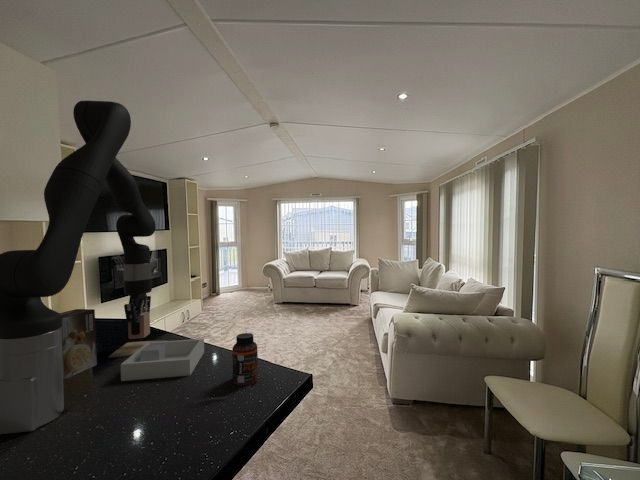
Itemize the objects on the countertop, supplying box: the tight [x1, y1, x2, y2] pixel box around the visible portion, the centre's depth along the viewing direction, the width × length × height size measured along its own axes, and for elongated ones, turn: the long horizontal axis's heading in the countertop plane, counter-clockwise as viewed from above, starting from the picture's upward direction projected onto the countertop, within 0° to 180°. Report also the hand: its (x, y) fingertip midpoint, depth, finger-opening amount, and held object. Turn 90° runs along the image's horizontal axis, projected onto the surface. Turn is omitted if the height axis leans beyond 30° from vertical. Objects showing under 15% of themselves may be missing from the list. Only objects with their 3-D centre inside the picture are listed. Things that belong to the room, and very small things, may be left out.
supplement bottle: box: [231, 332, 259, 386], centre depth 74 cm, size 6×6×11 cm
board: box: [107, 339, 167, 359], centre depth 97 cm, size 12×12×1 cm
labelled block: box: [127, 311, 151, 340], centre depth 97 cm, size 4×4×7 cm
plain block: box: [141, 344, 165, 362], centre depth 83 cm, size 4×4×5 cm
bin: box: [120, 338, 205, 382], centre depth 84 cm, size 16×16×5 cm
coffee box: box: [58, 308, 98, 380], centre depth 81 cm, size 9×6×16 cm
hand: (139, 331), depth 97 cm, fingers closed on labelled block, 4 cm apart
